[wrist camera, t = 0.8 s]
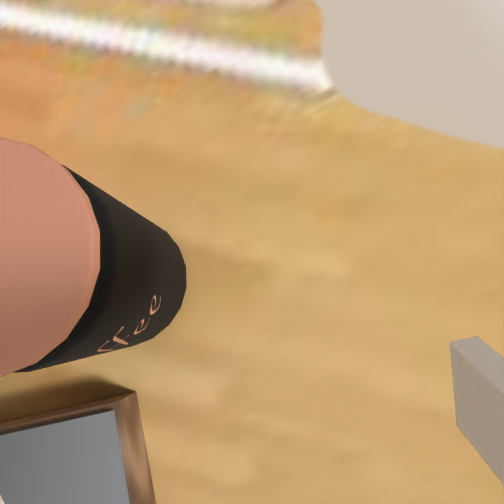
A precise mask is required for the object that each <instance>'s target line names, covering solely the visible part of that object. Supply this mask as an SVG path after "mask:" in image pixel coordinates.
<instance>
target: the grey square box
mask: <svg viewBox="0 0 504 504" xmlns="http://www.w3.org/2000/svg"><path fill="white" fill-rule="evenodd" d="M0 495H1V497H2V499H3V501H4V503H5V504H156V501H155V495H154V490H153V484H152V479H151V473H150V467H149V462H148V456H147V451H146V445H145V439H144V434H143V428H142V423H141V417H140V411H139V406H138V400H137V394H136V392H132V393H128V394H123V395H119V396H114V397H110V398H105V399H101V400H96V401H92V402H88V403H83V404H79V405H74V406H70V407H65V408H61V409H56V410H52V411H47V412H43V413H38V414H34V415H29V416H25V417H20V418H16V419H11V420H7V421H2V422H0Z"/></svg>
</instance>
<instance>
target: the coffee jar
mask: <svg viewBox="0 0 504 504" xmlns="http://www.w3.org/2000/svg"><path fill="white" fill-rule="evenodd" d="M185 290H186V266H185V263H184V260H183V257H182V255H181V252H180V249H179V247H178V246H177V244H176V243H175V242H174V241H173V239H172V238H171V237H170V236H169V234H168V233H167V232H166V231H164V230H163V229H161V228H160V227H158V226H157V225H155V224H154V223H152V222H151V221H149V220H147V219H146V218H144V217H143V216H141V215H140V214H138V213H137V212H135V211H134V210H132V209H130V208H129V207H127V206H126V205H124V204H123V203H121V202H120V201H118V200H116V199H115V198H113V197H112V196H110V195H109V194H107V193H106V192H104V191H103V190H101V189H99V188H98V187H96V186H95V185H93V184H92V183H90V182H89V181H87V180H86V179H84V178H82V177H81V176H79V175H78V174H76V173H75V172H73V171H72V170H70V169H69V168H67V167H65V166H64V165H62V164H60V163H58V162H57V161H55V160H54V159H52V158H51V157H49V156H48V155H46V154H45V153H43V152H42V151H40V150H38V149H37V148H35V147H34V146H32V145H30V144H25V143H21V142H17V141H13V140H9V139H5V138H0V377H2V376H4V375H7V374H10V373H14V372H30V371H34V370H38V369H42V368H46V367H50V366H54V365H58V364H62V363H66V362H70V361H74V360H78V359H82V358H86V357H90V356H94V355H98V354H102V353H106V352H110V351H114V350H118V349H122V348H126V347H131V346H134V345H137V344H139V343H142V342H144V341H147V340H150V339H152V338H154V337H155V336H156V335H157V334H159V333H160V332H161V331H162V330H163V329H165V328H166V327H167V326H168V325H169V324H170V323H171V321H172V320H173V318H174V317H175V315H176V314H177V312H178V311H179V309H180V308H181V304H182V301H183V297H184V294H185Z"/></svg>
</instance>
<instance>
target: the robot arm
mask: <svg viewBox="0 0 504 504" xmlns="http://www.w3.org/2000/svg"><path fill="white" fill-rule="evenodd" d="M450 352H451V363H452V375H453V387H454V398H455V410H456V422H457V426H458V427H459V429H460V430H461V431H462V433H463V434H464V435H465V437H466V438H467V439H468V440H469V442H470V443H471V444H472V446H473V447H474V448H475V449H476V451H477V452H478V453H479V455H480V456H481V457H482V458H483V460H484V461H485V462H486V464H487V465H488V466H489V467H490V469H491V470H492V471H493V473H494V474H495V475H496V476H497V478H498V479H499V480H500V482H501V483H502V484H503V485H504V358H503V357H502V356H501V355H500V354H498V353H497V352H496V351H495V350H494V349H492V348H491V347H490V346H489V345H487V344H486V343H485V342H484V341H483V340H481V339H480V338H479V337H478V336H476V337H471V338H467V339H462V340H458V341H453V342H450ZM0 504H5V503H4V501H3V499H2V497H1V495H0Z"/></svg>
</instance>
